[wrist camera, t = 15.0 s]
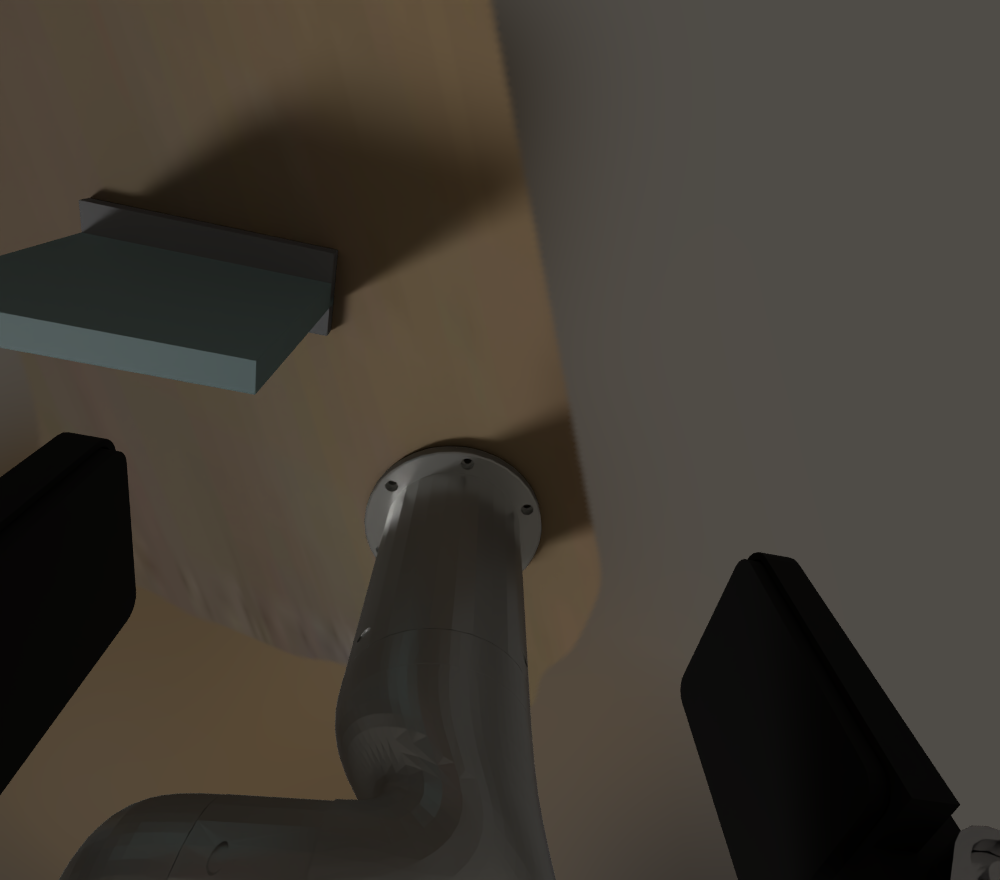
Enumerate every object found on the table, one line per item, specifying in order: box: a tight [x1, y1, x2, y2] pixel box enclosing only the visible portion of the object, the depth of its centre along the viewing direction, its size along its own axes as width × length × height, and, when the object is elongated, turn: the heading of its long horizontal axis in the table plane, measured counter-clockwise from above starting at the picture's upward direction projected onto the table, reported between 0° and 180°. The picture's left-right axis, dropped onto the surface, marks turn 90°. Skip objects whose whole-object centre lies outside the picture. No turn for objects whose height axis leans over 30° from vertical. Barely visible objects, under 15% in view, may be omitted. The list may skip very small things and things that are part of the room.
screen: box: [0, 198, 338, 394], centre depth 31 cm, size 5×14×14 cm, turn 78°
